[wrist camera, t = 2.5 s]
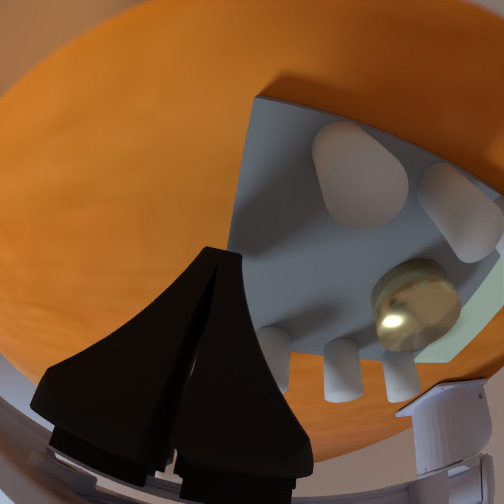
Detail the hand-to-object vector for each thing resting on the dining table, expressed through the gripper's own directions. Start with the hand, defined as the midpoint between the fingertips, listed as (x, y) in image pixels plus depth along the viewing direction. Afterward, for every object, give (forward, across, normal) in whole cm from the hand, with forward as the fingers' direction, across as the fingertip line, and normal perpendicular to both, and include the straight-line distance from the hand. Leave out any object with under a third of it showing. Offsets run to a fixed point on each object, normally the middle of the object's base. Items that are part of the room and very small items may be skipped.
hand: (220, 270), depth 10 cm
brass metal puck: (+1, -8, 0) cm, 9 cm away
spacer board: (+2, -8, 0) cm, 9 cm away
